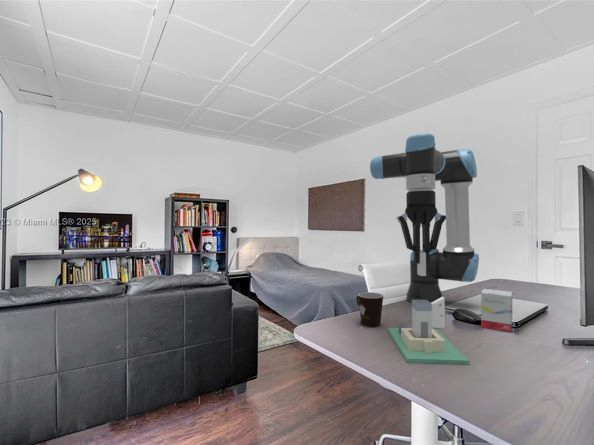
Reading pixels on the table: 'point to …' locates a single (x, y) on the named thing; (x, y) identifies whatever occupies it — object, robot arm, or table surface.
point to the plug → (421, 319)
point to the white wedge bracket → (438, 313)
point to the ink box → (496, 310)
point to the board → (426, 347)
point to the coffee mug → (370, 308)
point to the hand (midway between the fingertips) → (421, 275)
